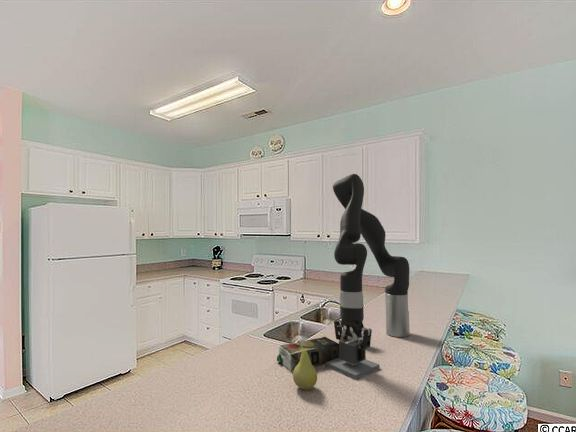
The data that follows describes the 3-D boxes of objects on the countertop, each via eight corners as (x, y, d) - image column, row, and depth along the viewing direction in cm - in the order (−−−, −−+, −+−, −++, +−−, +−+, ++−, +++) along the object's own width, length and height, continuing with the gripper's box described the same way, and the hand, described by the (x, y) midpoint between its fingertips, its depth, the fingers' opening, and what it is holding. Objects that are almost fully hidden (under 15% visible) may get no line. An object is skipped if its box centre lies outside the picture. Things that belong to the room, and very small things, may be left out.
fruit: (301, 397, 81) (300, 350, 82) (287, 385, 87) (287, 342, 88) (321, 390, 84) (321, 346, 85) (307, 379, 91) (306, 338, 91)
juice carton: (288, 373, 95) (288, 352, 96) (275, 362, 104) (275, 343, 105) (340, 361, 104) (340, 343, 105) (324, 352, 113) (324, 335, 114)
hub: (350, 356, 107) (349, 341, 108) (379, 368, 98) (379, 351, 98) (326, 366, 100) (326, 349, 100) (355, 379, 90) (355, 361, 91)
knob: (351, 353, 103) (350, 336, 104) (365, 359, 99) (365, 341, 99) (339, 358, 100) (338, 340, 100) (353, 364, 95) (353, 345, 95)
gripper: (327, 302, 103) (328, 353, 102) (362, 310, 92) (363, 367, 91) (342, 299, 108) (343, 348, 107) (377, 306, 97) (378, 361, 96)
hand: (352, 357), depth 99 cm, fingers closed on knob, 6 cm apart
